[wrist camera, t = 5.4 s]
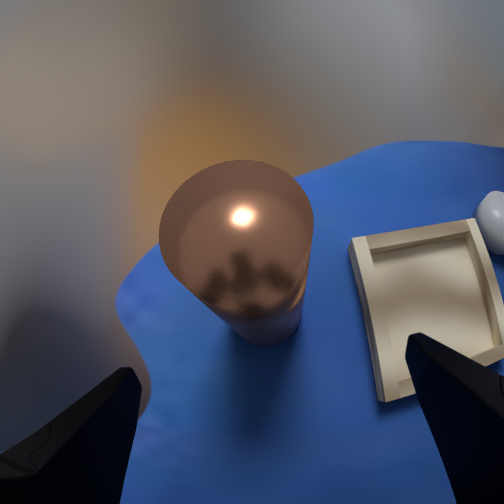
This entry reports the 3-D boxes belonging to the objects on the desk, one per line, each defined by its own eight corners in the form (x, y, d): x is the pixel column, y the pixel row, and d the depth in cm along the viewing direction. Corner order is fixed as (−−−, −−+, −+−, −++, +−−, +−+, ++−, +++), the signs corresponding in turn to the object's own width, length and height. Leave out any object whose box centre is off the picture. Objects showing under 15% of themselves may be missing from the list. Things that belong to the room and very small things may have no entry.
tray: (500, 355, 16) (513, 352, 15) (377, 400, 17) (385, 402, 16) (465, 228, 21) (474, 217, 19) (347, 248, 22) (351, 238, 20)
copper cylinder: (306, 339, 20) (329, 284, 8) (235, 350, 20) (159, 309, 8) (295, 272, 21) (295, 150, 10) (227, 282, 22) (161, 175, 10)
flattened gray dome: (518, 250, 20) (532, 238, 17) (484, 260, 20) (499, 248, 18) (498, 202, 22) (510, 188, 19) (463, 208, 22) (475, 193, 20)
